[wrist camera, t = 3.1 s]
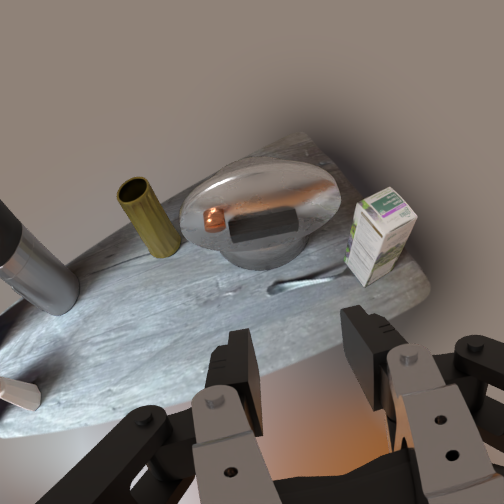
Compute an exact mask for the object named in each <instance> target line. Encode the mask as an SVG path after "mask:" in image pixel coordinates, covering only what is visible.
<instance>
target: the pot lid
mask: <svg viewBox="0 0 504 504" xmlns="http://www.w3.org/2000/svg"><path fill="white" fill-rule="evenodd" d="M340 203H341V195H340V192H339V189H338V186H337V183H336V181H335V179H334V178H333V177H332V175H330V174H329V173H328V172H327V171H325V170H324V169H322V168H320V167H318V166H315V165H312V164H308V163H304V162H298V161H288V160H275V161H263V162H257V163H251V164H247V165H243V166H239V167H236V168H233V169H230V170H227V171H225V172H222V173H220V174H218V175H215V176H214V177H212V178H210V179H208V180H206V181H205V182H203V183H202V184H200V185H199V186H198V187H196V188H195V189H194V190H193V191H192V192H191V193H190V194H189V195H188V196H187V197H186V199H185V200H184V202H183V204H182V205H181V208H180V214H179V218H180V228H181V232H182V234H183V235H184V237H185V238H186V239H187V240H188V241H190V242H191V243H193V244H195V245H197V246H200V247H202V248H206V249H210V250H216V251H229V252H238V251H252V250H259V249H265V248H270V247H274V246H278V245H282V244H285V243H288V242H291V241H294V240H296V239H299V238H301V237H304V236H306V235H308V234H310V233H312V232H314V231H315V230H317V229H319V228H320V227H322V226H323V225H324V224H326V223H327V222H328V221H329V220H330V219H331V218H332V217H333V216H334V215H335V214H336V212H337V210H338V209H339V206H340Z"/></svg>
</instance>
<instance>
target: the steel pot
mask: <svg viewBox="0 0 504 504" xmlns="http://www.w3.org/2000/svg"><path fill="white" fill-rule="evenodd" d="M275 160H281V159H278V158H273V157H250V158H245V159H241V160H238V161H235V162H233V163H231V164H229V165H227V166H225V167H224V168H222V169H221V170H219V171H218V172H217V173H216V174H215V175H218V174H220V173H222V172H225V171H227V170H230V169H233V168H236V167H239V166H243V165H247V164H251V163H257V162H263V161H275ZM215 175H214V176H215ZM214 176H213V177H214ZM308 237H309V234H308V235H306V236H304V237H301V238H299V239H296V240H294V241H291V242H288V243H285V244H282V245H278V246H274V247H270V248H265V249H259V250H252V251H238V252H229V251H220V253H221V254H222V255H223V256H224V257H225V258H226V259H227V260H228V261H229V262H231V263H232V264H234V265H236V266H238V267H241V268H243V269H248V270H255V271H263V270H270V269H274V268H278V267H280V266H283V265H285V264H287V263H289V262H290V261H291V260H293V259H294V258H295V257H296V256H298V255H299V254H300V252H301V251H302V250H303V248H304V247H305V245H306V243H307V241H308Z"/></svg>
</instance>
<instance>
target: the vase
mask: <svg viewBox="0 0 504 504" xmlns="http://www.w3.org/2000/svg"><path fill="white" fill-rule="evenodd" d="M117 200H118V202H119V203H120V205H121V207H122V208H123V210H124V211H125V213H126V214H127V216H128V217H129V219H130V221H131V222H132V224H133V225H134V227H135V229H136V230H137V232H138V234H139V235H140V237H141V239H142V240H143V242H144V243H145V245H146V246H147V247H148V249H149V252H150V253H151V255H153V256H154V257H156V258H166V257H169V256H171V255H172V254H174V253H175V252H176V251H177V249H178V248H179V246H180V243H181V237H180V235H179V233H178V232H177V231H176V230H175V228H174V226H173V225H172V223H171V221H170V220H169V218H168V216H167V215H166V213H165V211H164V209H163V208H162V206H161V204H160V203H159V201H158V199H157V197H156V195H155V193H154V191H153V189H152V188H151V186H150V184H149V182H148V181H147V179H145V178H143V177H134V178H131V179H129V180H127V181H126V182H125V183H123V184H122V185H121V187H120V188H119V190H118V192H117Z"/></svg>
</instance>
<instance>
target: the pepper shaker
mask: <svg viewBox="0 0 504 504" xmlns="http://www.w3.org/2000/svg"><path fill="white" fill-rule="evenodd" d="M0 398H1V399H3V400H5V401H8V402H10V403H12V404H14V405H17V406H19V407H21V408H24V409H26V410H30V411H35V410H36V409H37V408H38V407H39V406H40V401H41V393H40V391H39V389H38V388H37V386H36V385H34V384H30V383H25V382H21V381H17V380H13V379H9V378H4V377H0Z"/></svg>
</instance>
